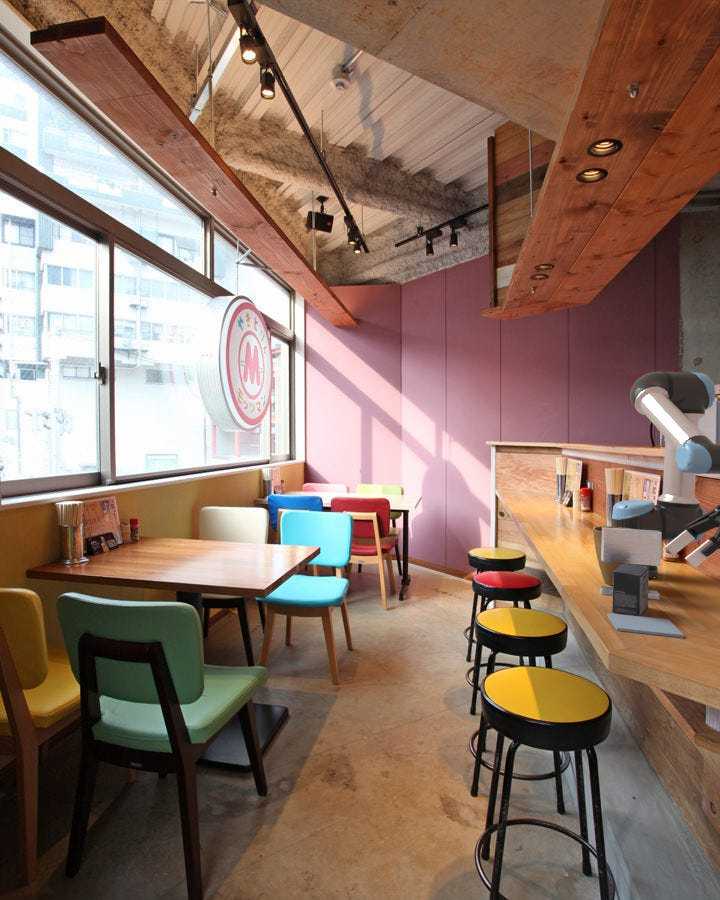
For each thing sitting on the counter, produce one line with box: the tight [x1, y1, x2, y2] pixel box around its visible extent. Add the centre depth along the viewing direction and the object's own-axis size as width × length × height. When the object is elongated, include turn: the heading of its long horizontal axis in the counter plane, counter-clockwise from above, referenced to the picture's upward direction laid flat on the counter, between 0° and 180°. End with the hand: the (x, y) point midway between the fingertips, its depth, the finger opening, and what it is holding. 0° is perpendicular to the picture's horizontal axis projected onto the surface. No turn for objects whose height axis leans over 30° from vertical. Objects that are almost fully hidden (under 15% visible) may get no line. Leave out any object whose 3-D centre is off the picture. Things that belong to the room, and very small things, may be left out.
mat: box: [606, 612, 685, 639], centre depth 113 cm, size 10×13×1 cm
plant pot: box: [592, 525, 642, 586], centre depth 147 cm, size 15×15×16 cm
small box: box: [611, 564, 649, 617], centre depth 124 cm, size 11×6×10 cm, turn 141°
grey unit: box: [599, 527, 662, 601], centre depth 136 cm, size 4×14×18 cm, turn 75°
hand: (678, 556), depth 121 cm, fingers open, 13 cm apart
